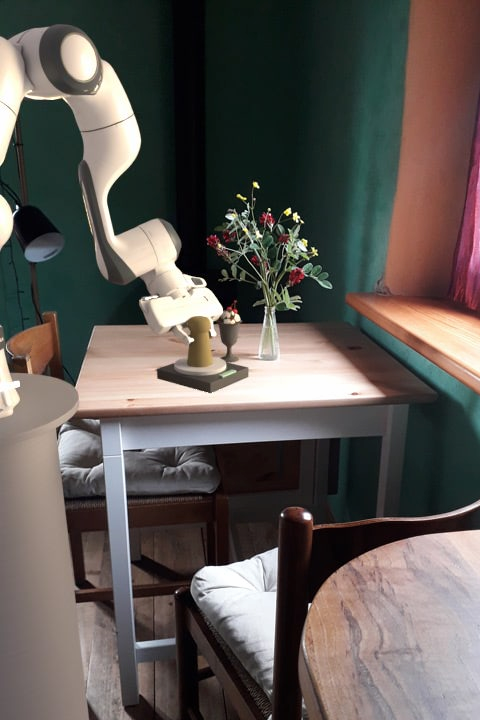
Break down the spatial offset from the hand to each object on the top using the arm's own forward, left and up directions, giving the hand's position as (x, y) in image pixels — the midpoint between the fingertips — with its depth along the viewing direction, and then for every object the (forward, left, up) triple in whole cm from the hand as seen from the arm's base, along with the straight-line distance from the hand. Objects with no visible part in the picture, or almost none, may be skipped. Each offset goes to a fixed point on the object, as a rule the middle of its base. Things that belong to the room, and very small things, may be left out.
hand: (201, 340), depth 141 cm
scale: (0, 0, -9) cm, 9 cm away
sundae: (+15, +4, -9) cm, 18 cm away
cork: (0, +1, -6) cm, 6 cm away
